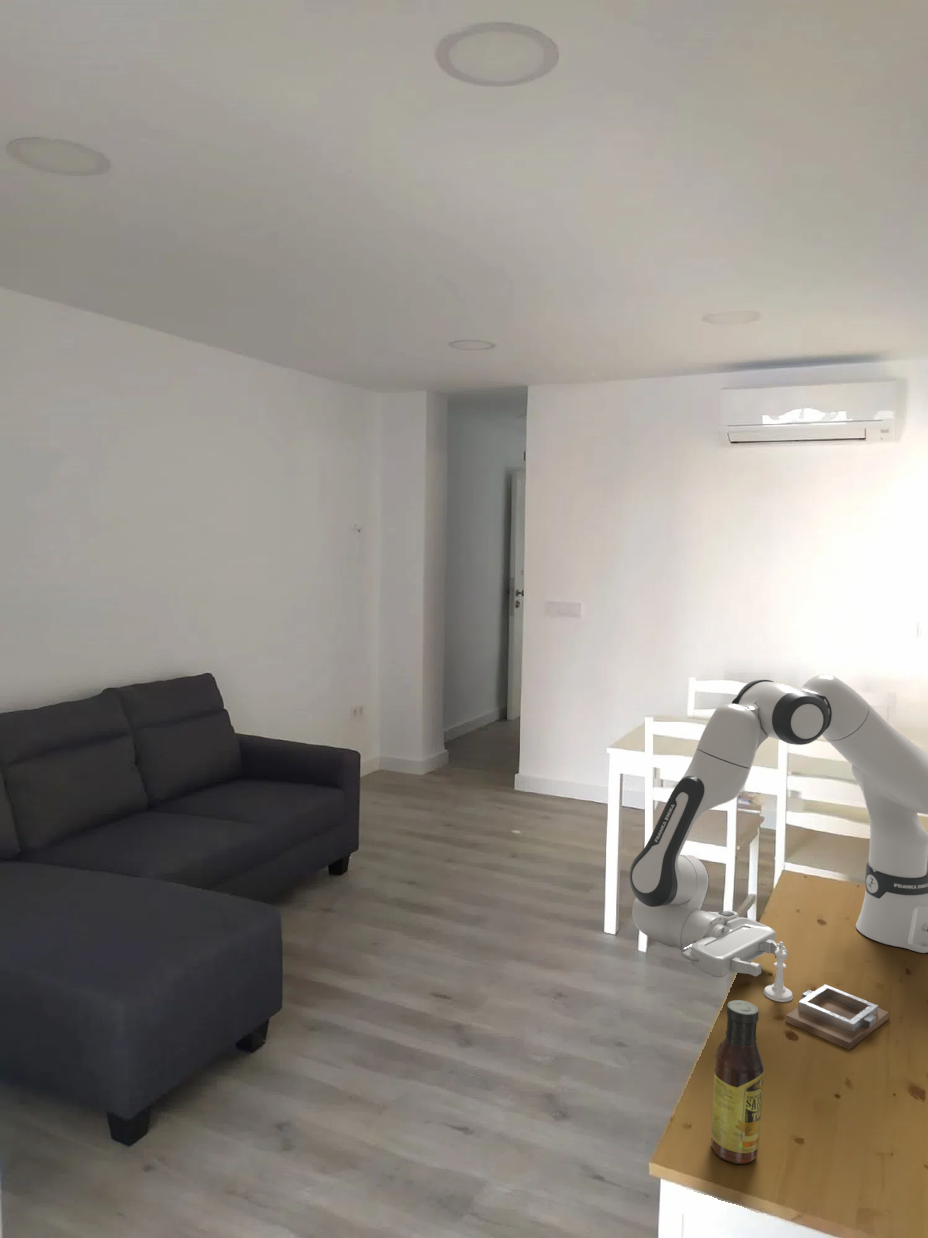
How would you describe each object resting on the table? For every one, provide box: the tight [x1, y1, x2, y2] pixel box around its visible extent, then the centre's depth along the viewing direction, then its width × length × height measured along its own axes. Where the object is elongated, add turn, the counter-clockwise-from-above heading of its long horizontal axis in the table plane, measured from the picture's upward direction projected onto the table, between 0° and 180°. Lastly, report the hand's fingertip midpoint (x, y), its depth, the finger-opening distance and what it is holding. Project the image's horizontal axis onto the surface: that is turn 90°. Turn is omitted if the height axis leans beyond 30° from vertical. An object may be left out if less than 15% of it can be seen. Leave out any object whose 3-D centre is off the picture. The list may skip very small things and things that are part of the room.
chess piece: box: [763, 940, 793, 1003], centre depth 161 cm, size 5×5×10 cm
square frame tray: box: [797, 983, 879, 1035], centre depth 153 cm, size 12×10×2 cm
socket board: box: [785, 998, 890, 1050], centre depth 153 cm, size 11×15×1 cm
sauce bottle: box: [710, 999, 765, 1165], centre depth 119 cm, size 6×6×20 cm
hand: (773, 963), depth 162 cm, fingers open, 8 cm apart
